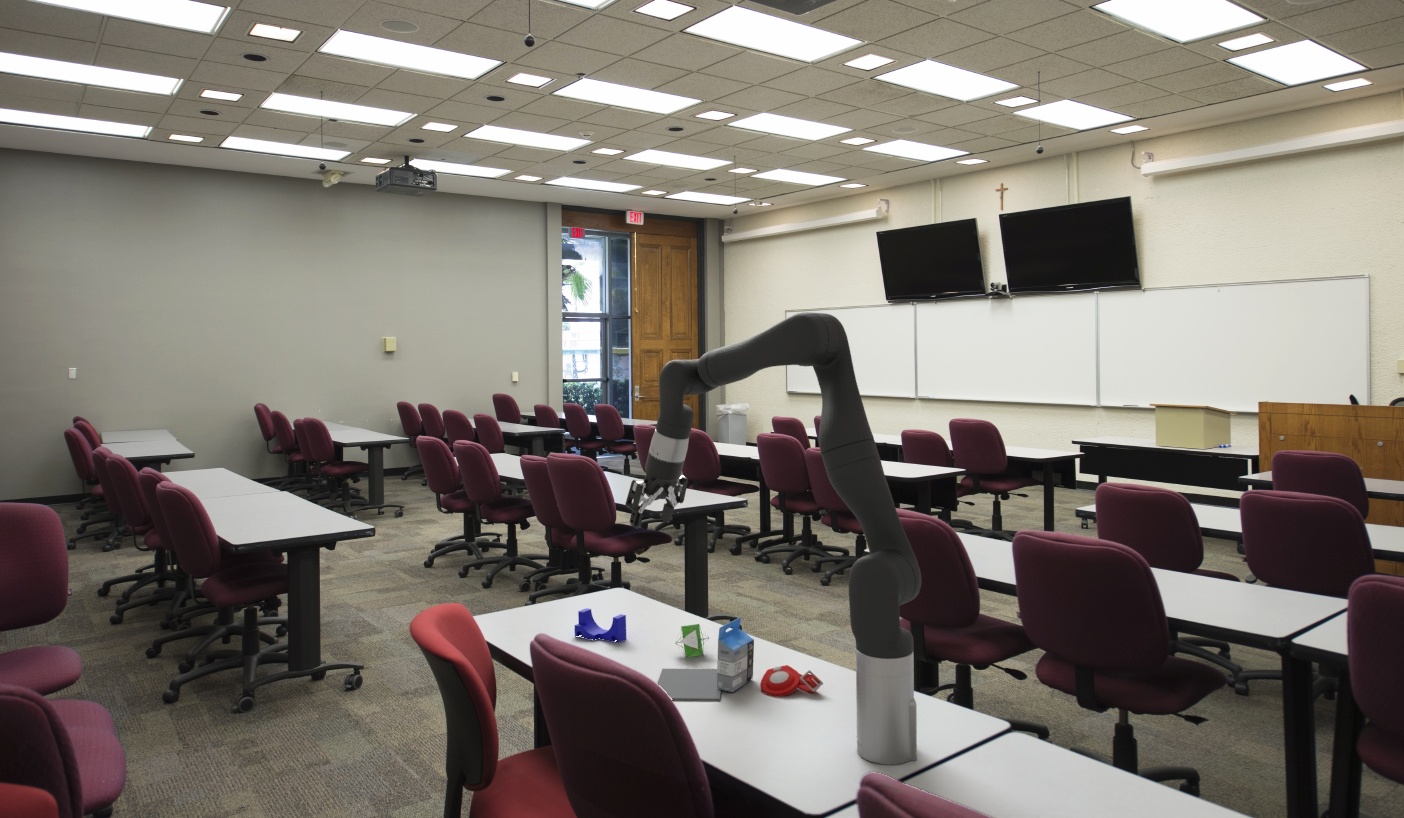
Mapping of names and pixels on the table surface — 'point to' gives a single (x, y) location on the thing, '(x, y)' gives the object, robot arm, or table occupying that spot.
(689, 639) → the geometric puzzle
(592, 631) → the blue cradle support
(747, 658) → the label tape box
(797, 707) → the table surface
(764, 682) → the tracker holder
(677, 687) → the mat
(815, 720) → the table surface
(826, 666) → the table surface
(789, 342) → the robot arm
